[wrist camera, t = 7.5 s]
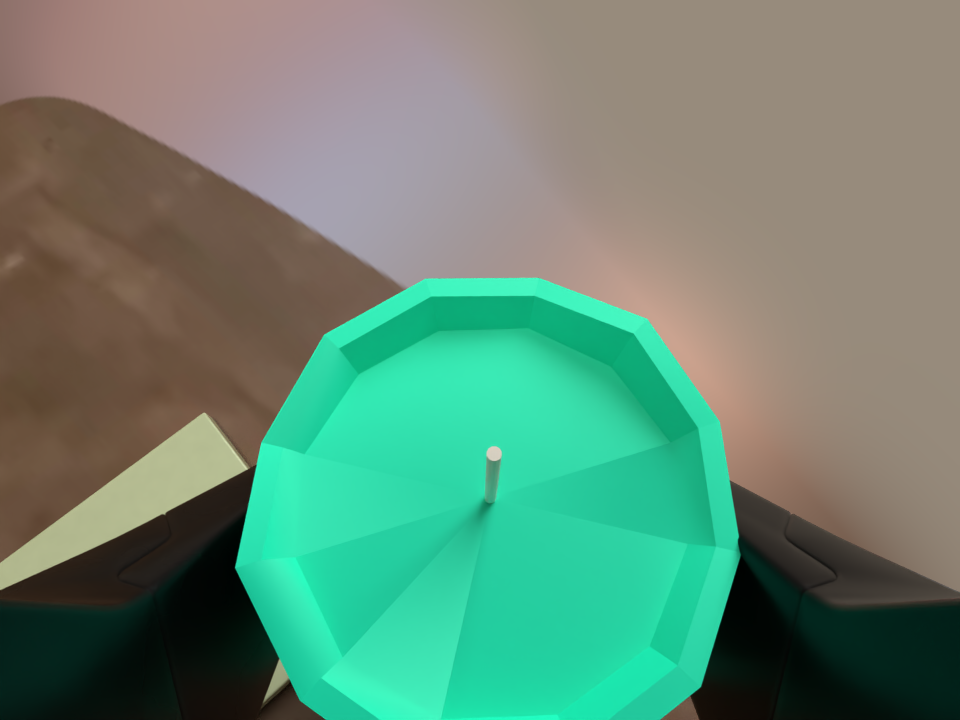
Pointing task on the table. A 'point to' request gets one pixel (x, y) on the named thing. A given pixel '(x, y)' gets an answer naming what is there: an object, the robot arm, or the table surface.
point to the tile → (138, 504)
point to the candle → (492, 513)
